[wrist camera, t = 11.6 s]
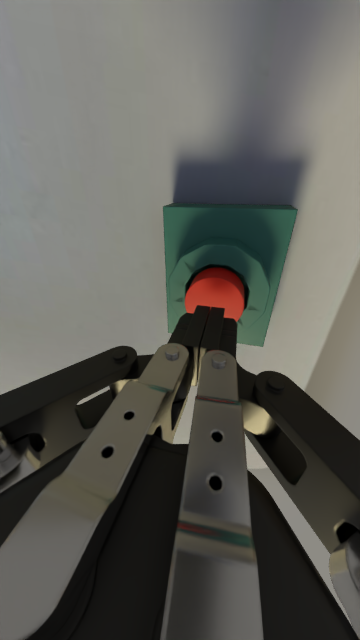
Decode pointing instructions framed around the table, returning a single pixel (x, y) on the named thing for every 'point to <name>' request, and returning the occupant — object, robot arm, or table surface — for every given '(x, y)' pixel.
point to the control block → (228, 256)
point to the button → (217, 292)
